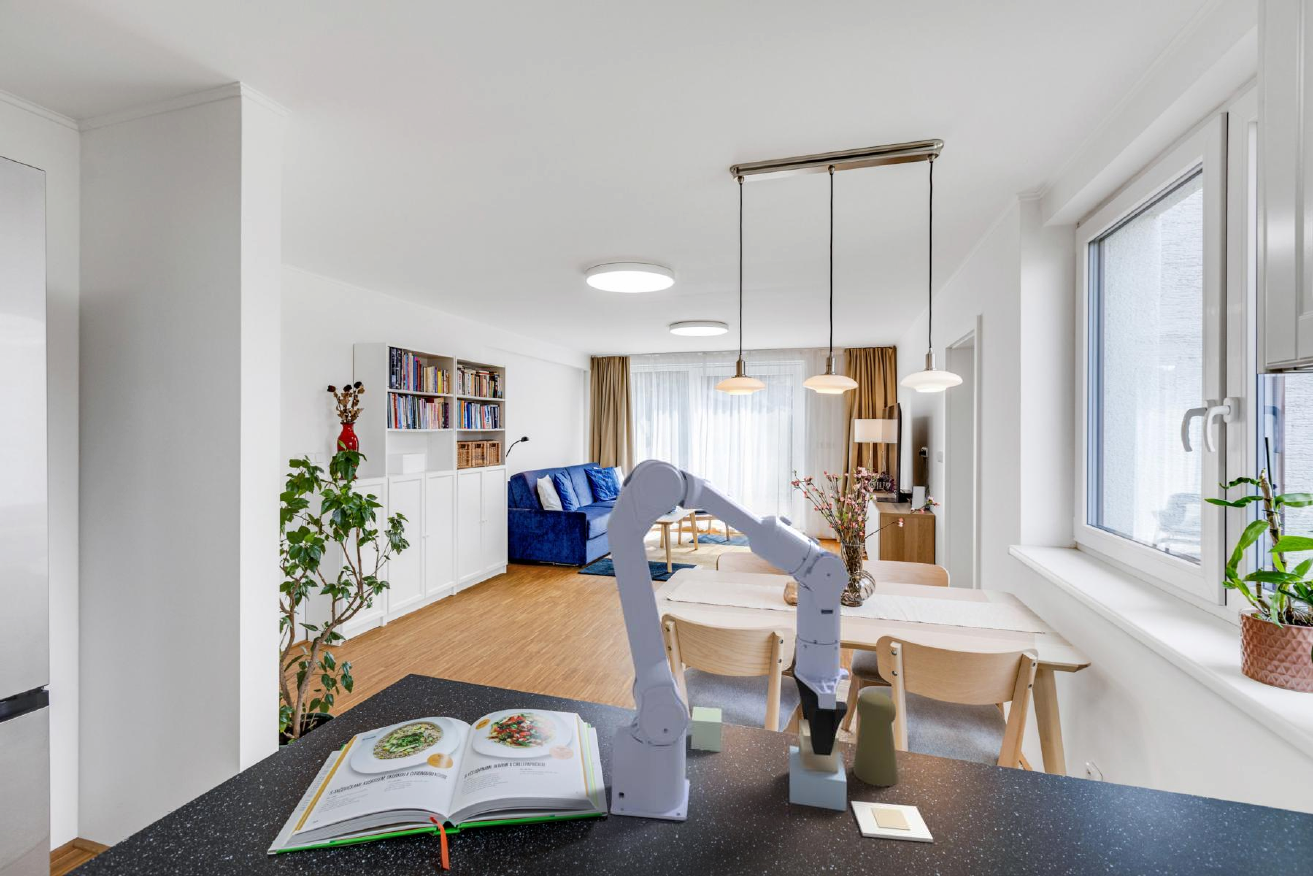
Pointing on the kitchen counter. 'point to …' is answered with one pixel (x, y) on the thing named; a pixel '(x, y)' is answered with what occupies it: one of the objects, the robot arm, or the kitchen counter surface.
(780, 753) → the kitchen counter surface
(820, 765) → the birch block
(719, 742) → the sage green block
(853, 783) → the kitchen counter surface
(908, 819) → the tile
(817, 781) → the blue base block
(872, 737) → the cork
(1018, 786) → the kitchen counter surface
